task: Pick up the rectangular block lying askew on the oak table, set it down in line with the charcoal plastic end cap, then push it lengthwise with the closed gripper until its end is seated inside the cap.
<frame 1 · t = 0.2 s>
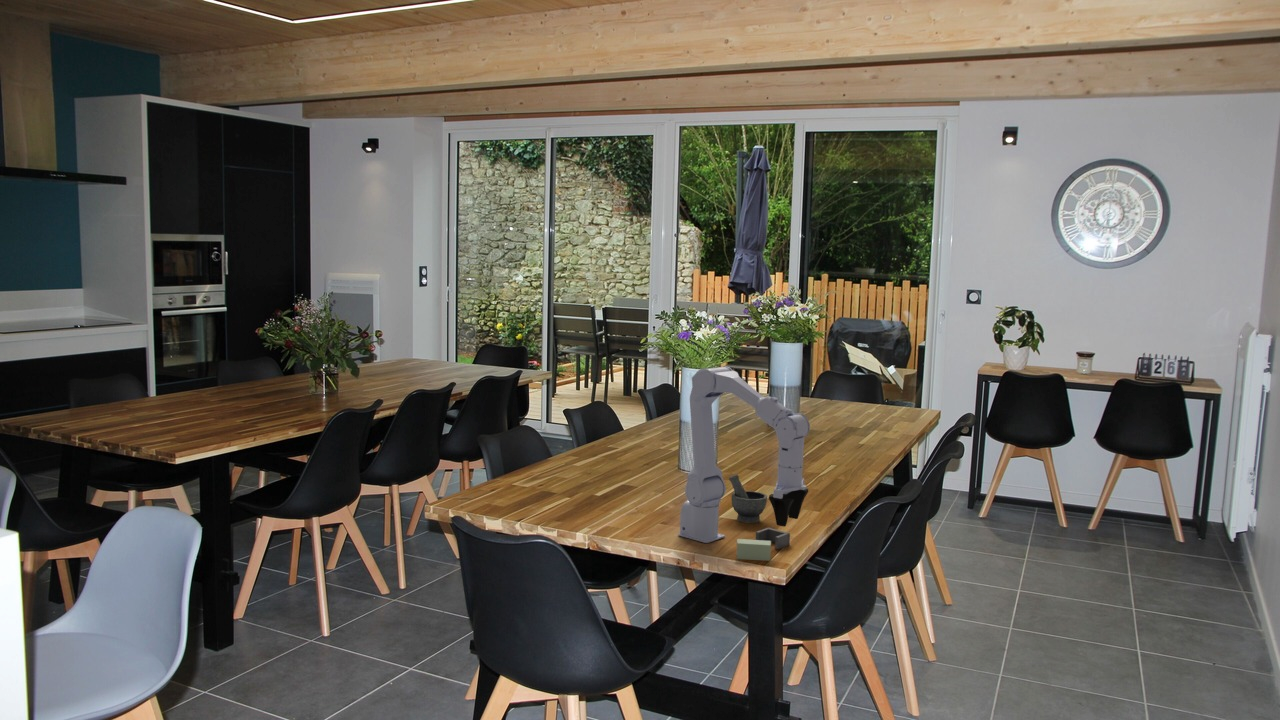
hand: (787, 521, 223), 10 cm above the table, fingers open, 7 cm apart
rectangular block: (753, 558, 226), on the table
end cap: (771, 544, 237), on the table
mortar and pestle: (746, 519, 259), on the table
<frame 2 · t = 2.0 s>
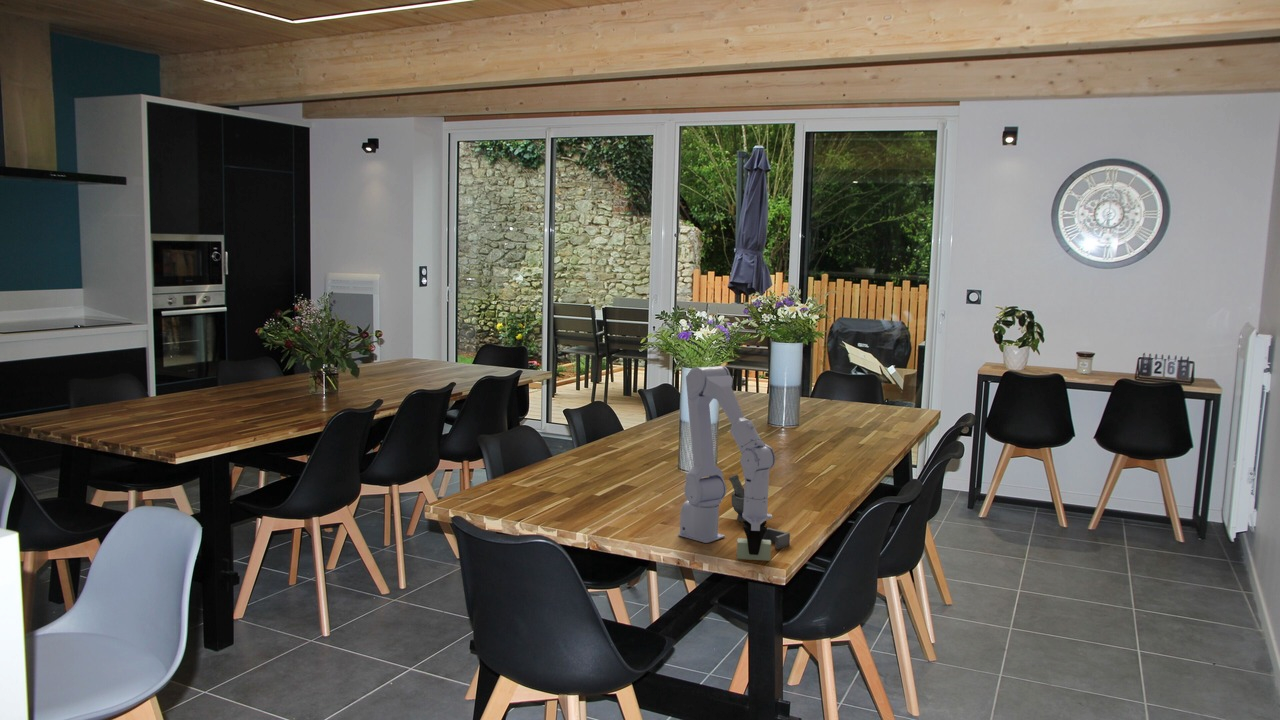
hand: (753, 551, 226), 1 cm above the table, fingers closed on rectangular block, 3 cm apart
rectangular block: (753, 557, 226), on the table, touching gripper
everything else where it was.
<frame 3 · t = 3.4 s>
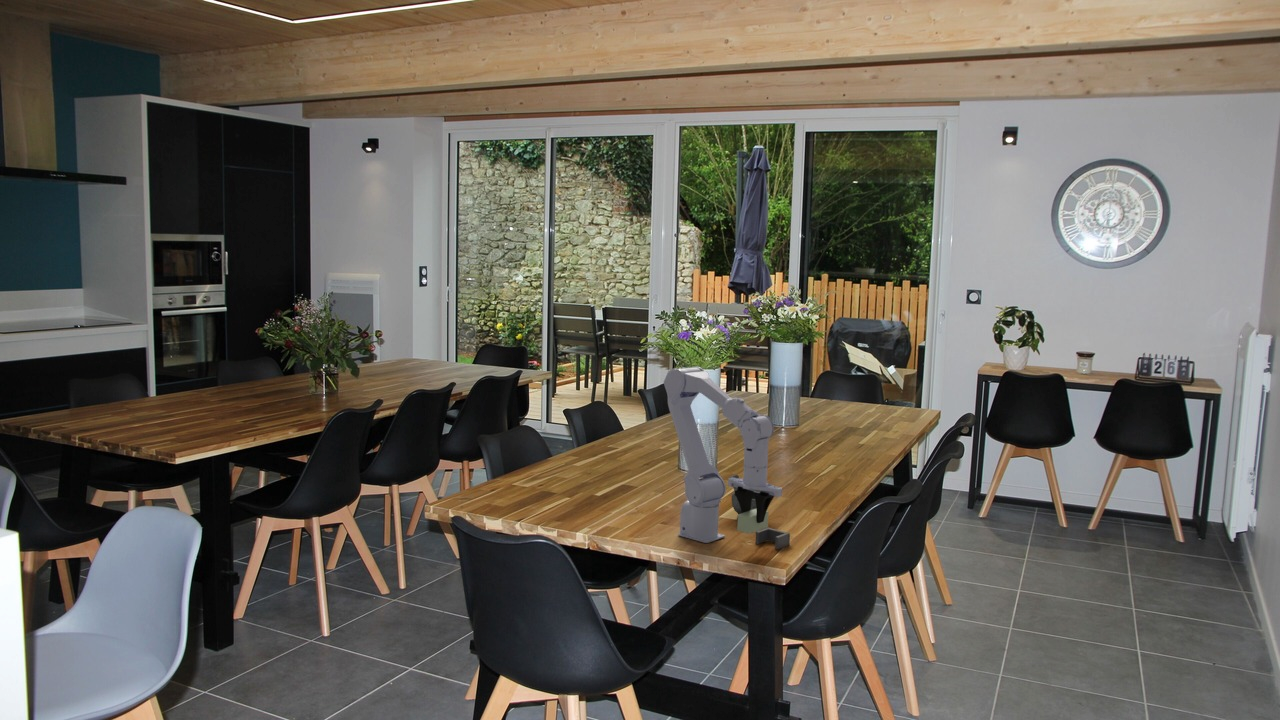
hand: (753, 520, 229), 8 cm above the table, fingers closed on rectangular block, 3 cm apart
rectangular block: (752, 528, 229), point 6 cm above the table, touching gripper
everything else where it was.
when the fingers open (2 cm above the table, at t = 4.7 s): rectangular block stays where it is, on the table.
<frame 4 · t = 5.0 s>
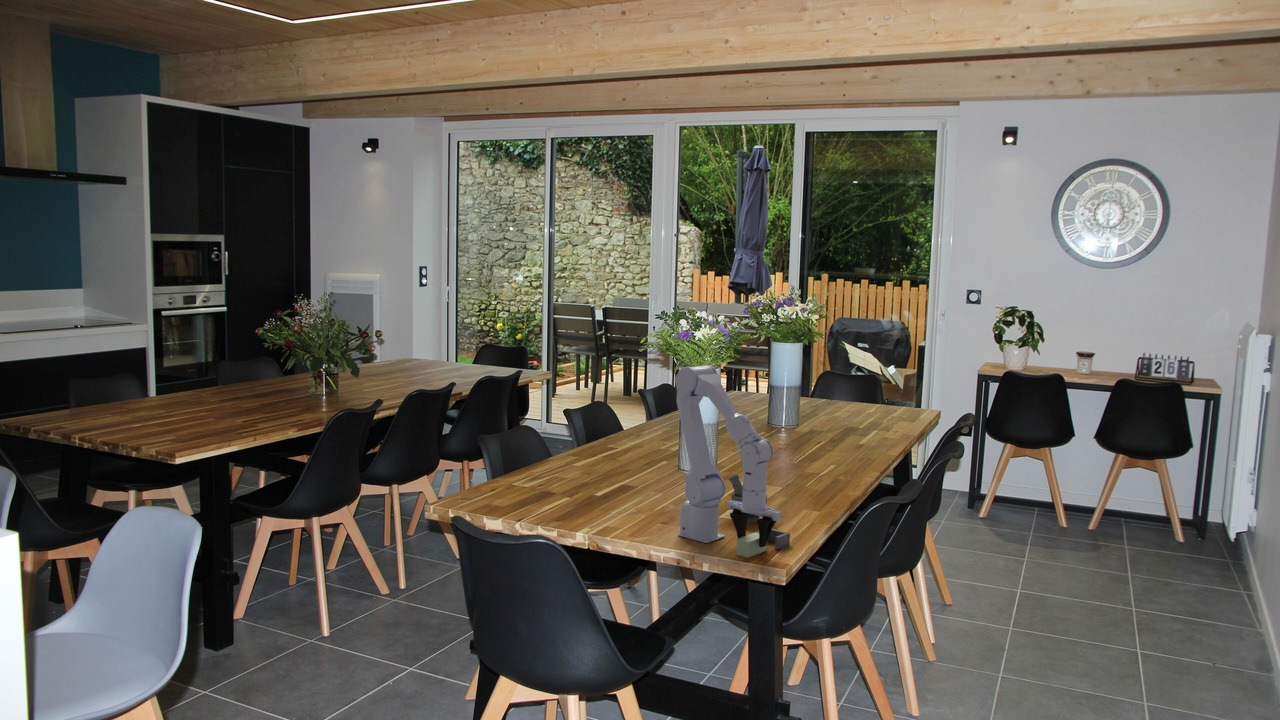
hand: (752, 543, 230), 2 cm above the table, fingers open, 6 cm apart
rectangular block: (751, 553, 230), on the table
everything else where it was.
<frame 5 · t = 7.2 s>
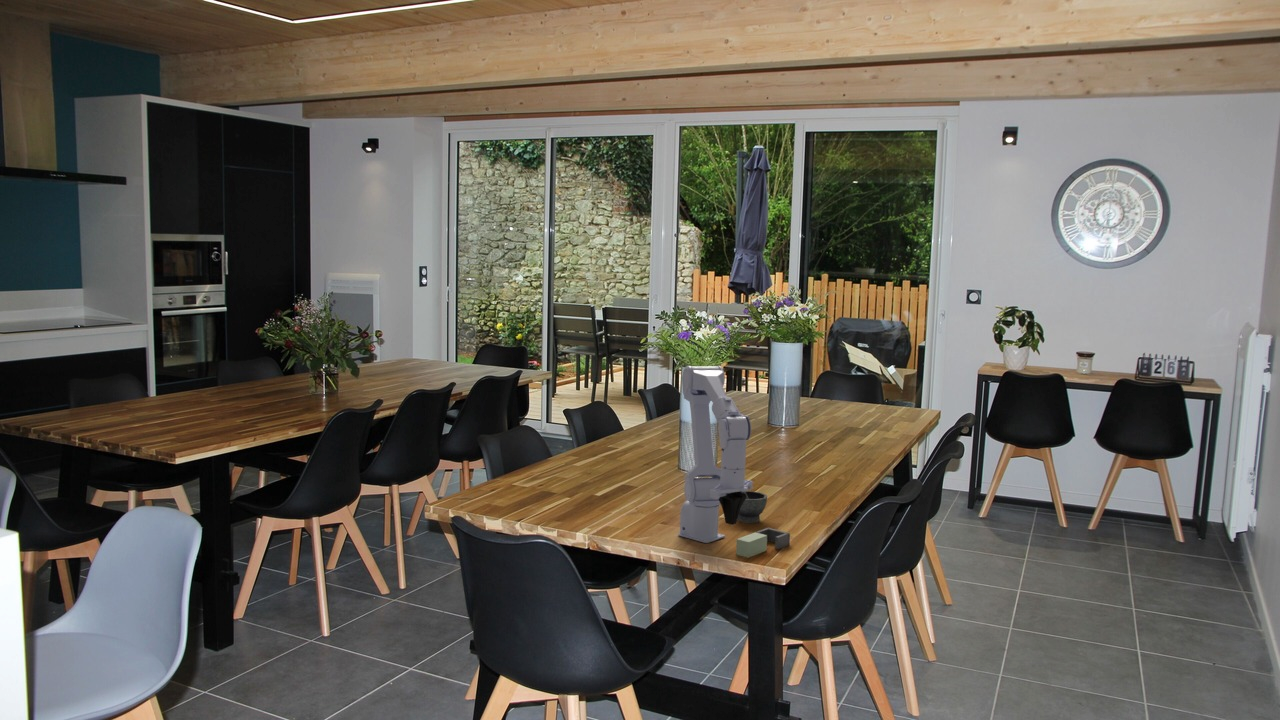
hand: (730, 523, 222), 9 cm above the table, fingers closed
nothing on the table moved.
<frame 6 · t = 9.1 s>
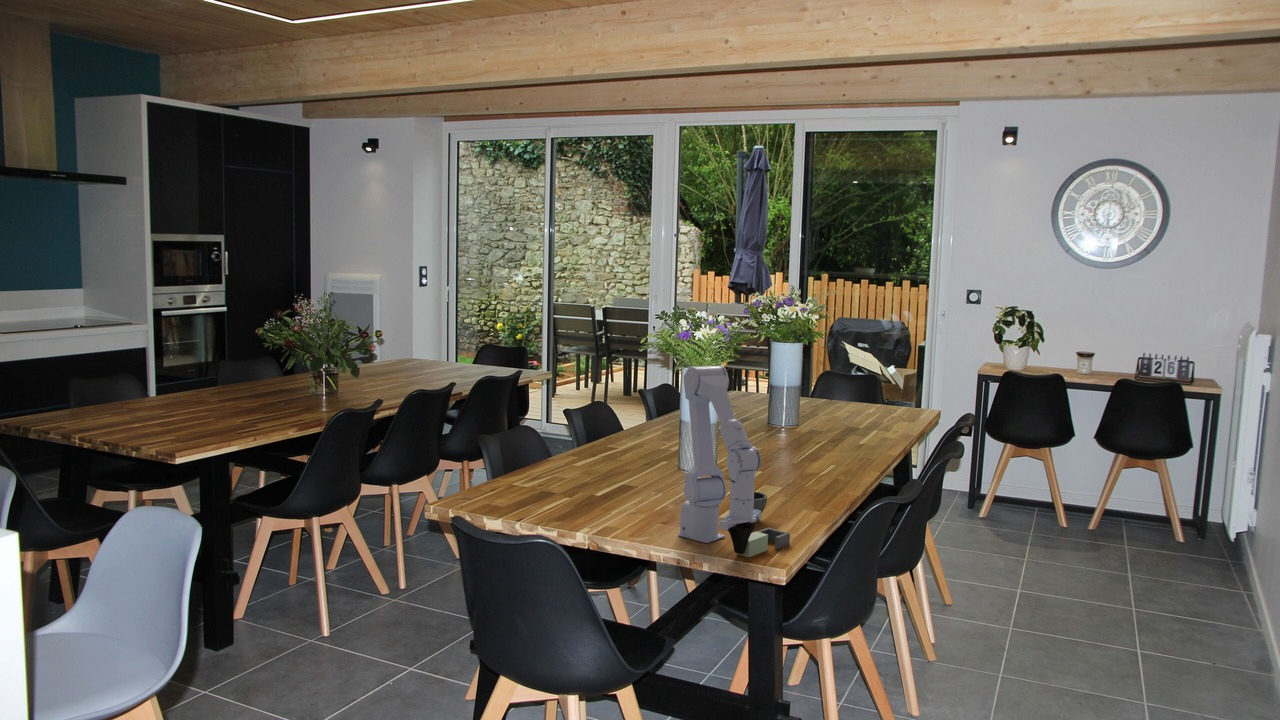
hand: (739, 552, 226), 1 cm above the table, fingers closed
rectangular block: (752, 552, 230), on the table, touching gripper
everything else where it was.
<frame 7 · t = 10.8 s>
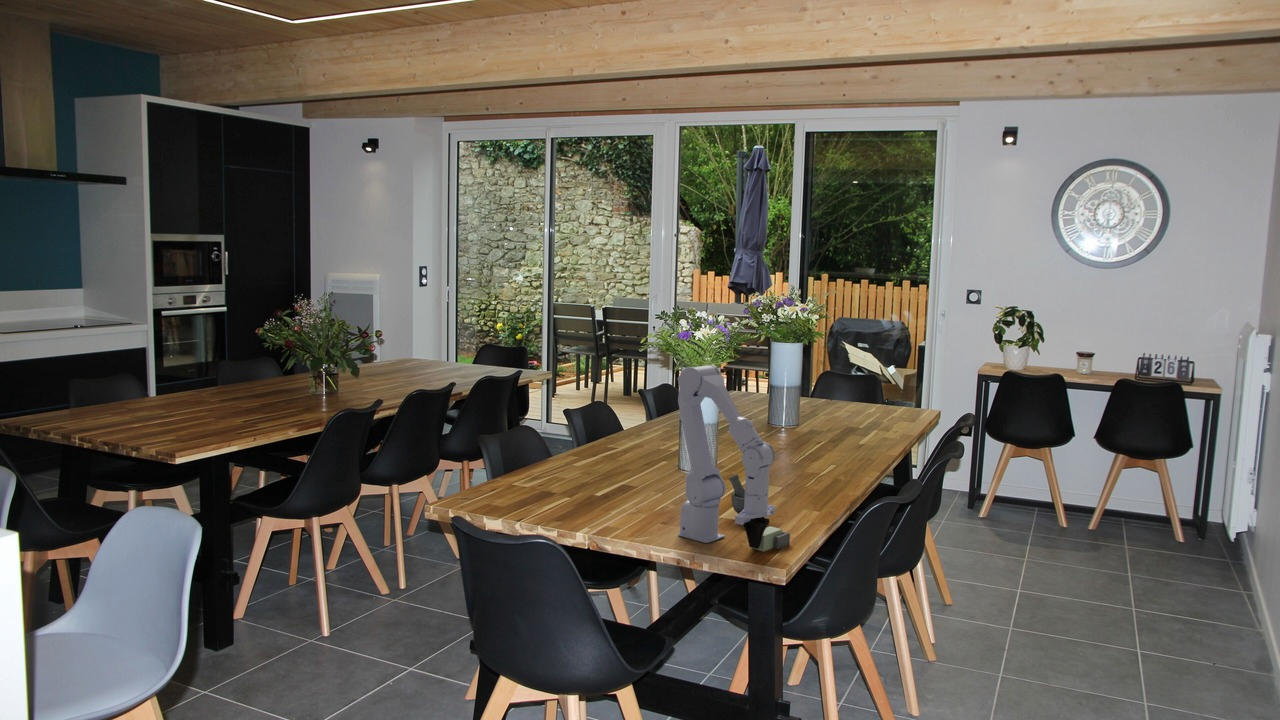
hand: (754, 547, 231), 1 cm above the table, fingers closed
rectangular block: (766, 546, 235), on the table, touching gripper
everything else where it was.
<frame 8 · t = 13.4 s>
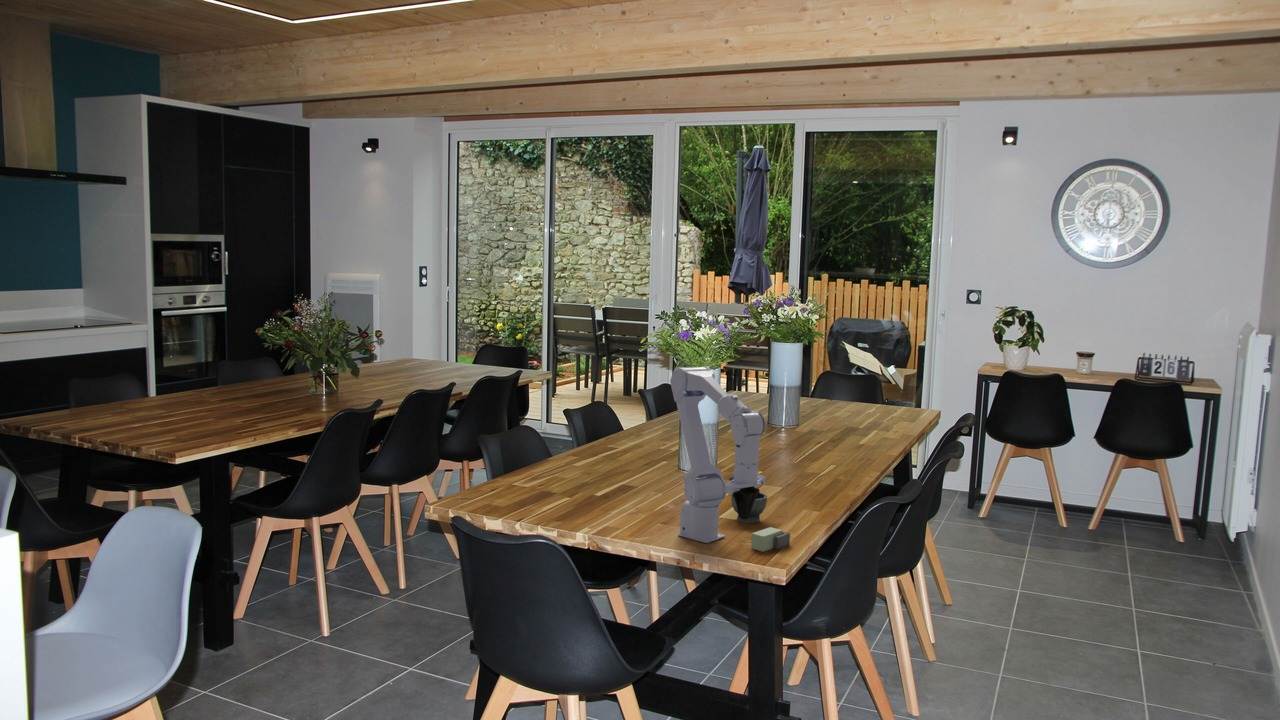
hand: (743, 517, 226), 9 cm above the table, fingers closed
rectangular block: (766, 547, 235), on the table
everything else where it was.
at the end: rectangular block 1.2 cm from the target spot on the end cap, point 0.0 cm above the end cap's base; rectangular block touching table; the gripper is holding nothing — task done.
